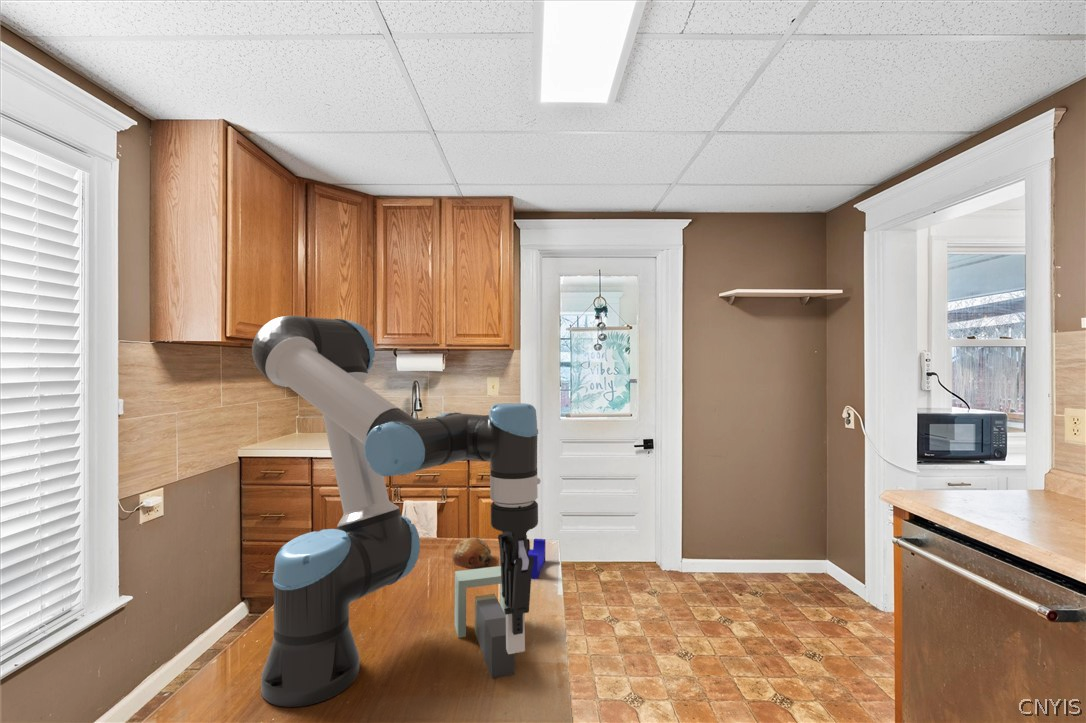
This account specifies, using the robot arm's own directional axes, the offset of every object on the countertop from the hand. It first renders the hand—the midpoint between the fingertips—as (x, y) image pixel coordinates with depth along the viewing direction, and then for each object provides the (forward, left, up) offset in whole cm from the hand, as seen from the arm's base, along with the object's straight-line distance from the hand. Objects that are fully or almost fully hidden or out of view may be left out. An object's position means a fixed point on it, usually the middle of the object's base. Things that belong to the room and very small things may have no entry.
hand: (515, 650), depth 82 cm
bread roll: (+4, +59, -8) cm, 59 cm away
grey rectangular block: (0, +15, -8) cm, 17 cm away
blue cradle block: (+18, +49, -8) cm, 53 cm away
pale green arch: (0, +24, -8) cm, 25 cm away
